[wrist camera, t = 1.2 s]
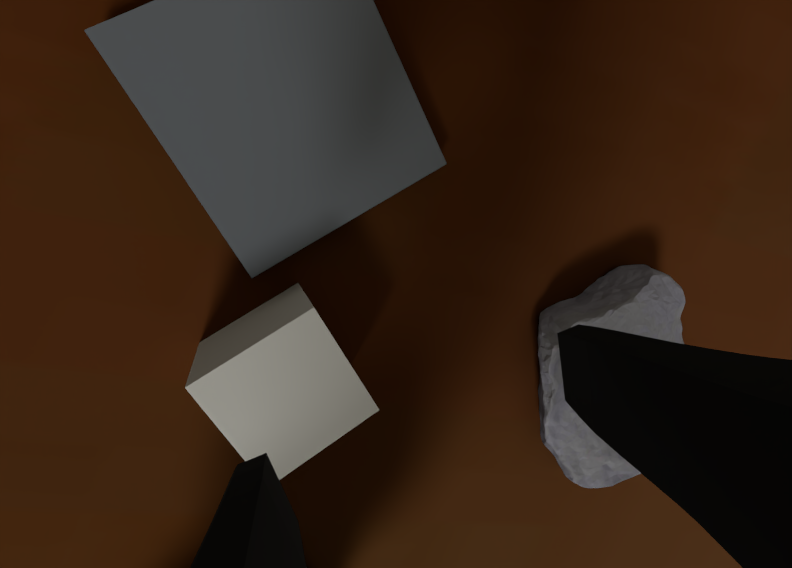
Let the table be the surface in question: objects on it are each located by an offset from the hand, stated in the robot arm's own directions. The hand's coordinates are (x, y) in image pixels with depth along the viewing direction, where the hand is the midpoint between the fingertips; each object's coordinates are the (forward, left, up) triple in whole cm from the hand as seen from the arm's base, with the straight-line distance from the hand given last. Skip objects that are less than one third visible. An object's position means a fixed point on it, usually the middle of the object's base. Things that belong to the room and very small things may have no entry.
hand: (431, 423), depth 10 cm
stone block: (+11, -13, -12) cm, 21 cm away
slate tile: (+3, +8, -12) cm, 15 cm away
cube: (-3, -1, -12) cm, 12 cm away
